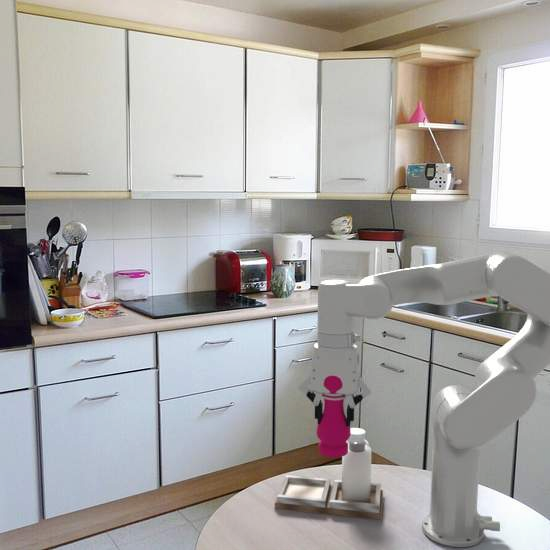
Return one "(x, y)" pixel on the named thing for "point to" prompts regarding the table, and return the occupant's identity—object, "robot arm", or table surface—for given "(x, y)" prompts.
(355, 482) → the salt shaker
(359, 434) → the supplement bottle
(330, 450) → the pepper mill
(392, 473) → the table surface
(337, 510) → the rail
